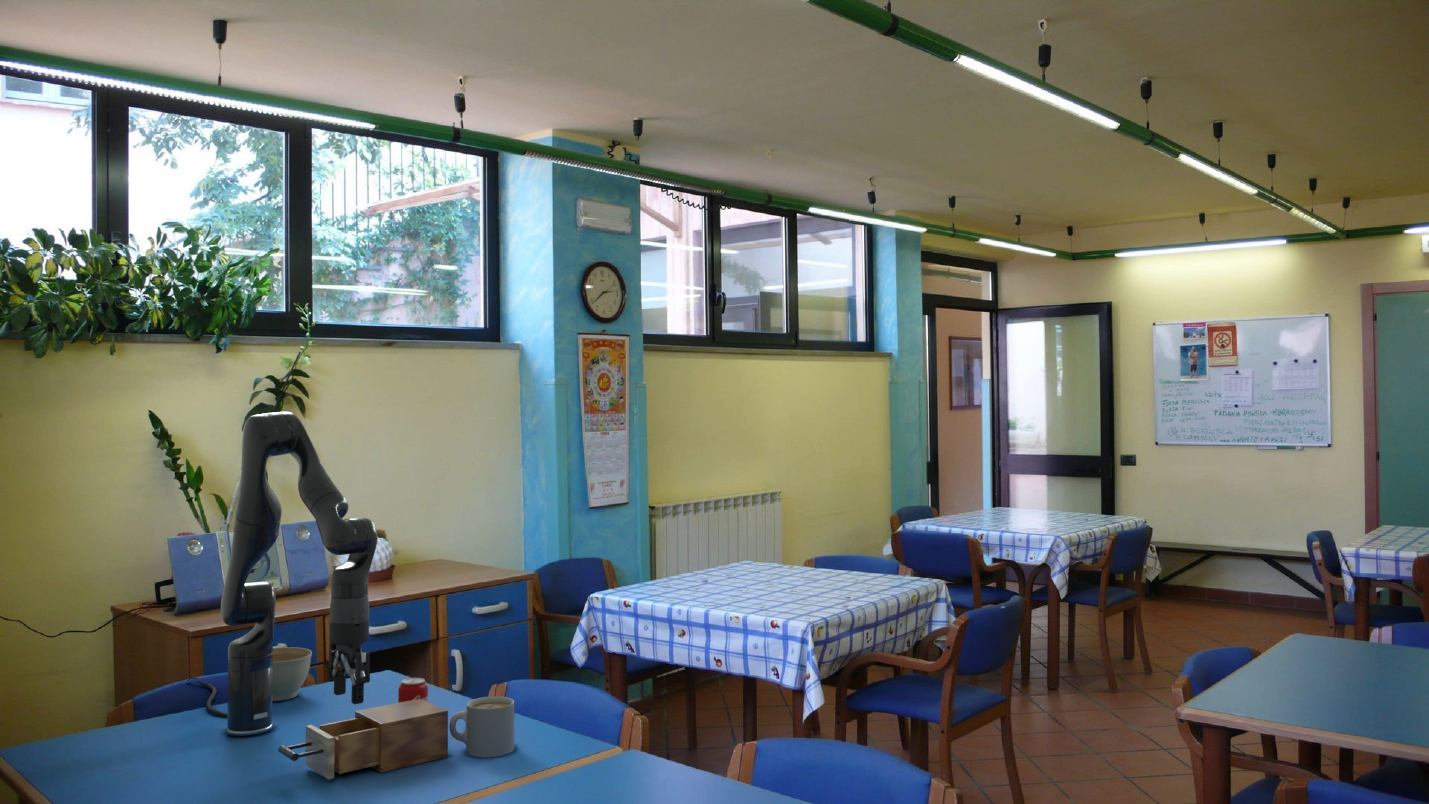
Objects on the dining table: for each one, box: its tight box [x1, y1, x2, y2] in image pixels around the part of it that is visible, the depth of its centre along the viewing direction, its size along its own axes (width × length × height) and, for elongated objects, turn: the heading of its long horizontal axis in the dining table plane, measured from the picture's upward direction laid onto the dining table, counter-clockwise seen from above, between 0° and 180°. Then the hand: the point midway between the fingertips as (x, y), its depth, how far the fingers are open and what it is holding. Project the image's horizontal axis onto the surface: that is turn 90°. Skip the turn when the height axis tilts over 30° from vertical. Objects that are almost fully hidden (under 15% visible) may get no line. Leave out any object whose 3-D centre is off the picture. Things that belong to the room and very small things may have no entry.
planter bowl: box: [272, 646, 313, 702], centre depth 263 cm, size 16×16×11 cm
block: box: [334, 736, 338, 763], centre depth 209 cm, size 4×4×4 cm
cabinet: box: [354, 699, 449, 773], centre depth 217 cm, size 15×13×10 cm
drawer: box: [277, 717, 380, 780], centre depth 207 cm, size 20×11×8 cm, turn 132°
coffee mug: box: [448, 696, 515, 758], centre depth 222 cm, size 13×10×10 cm
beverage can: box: [397, 677, 429, 703], centre depth 232 cm, size 6×6×12 cm
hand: (348, 698), depth 209 cm, fingers open, 8 cm apart
